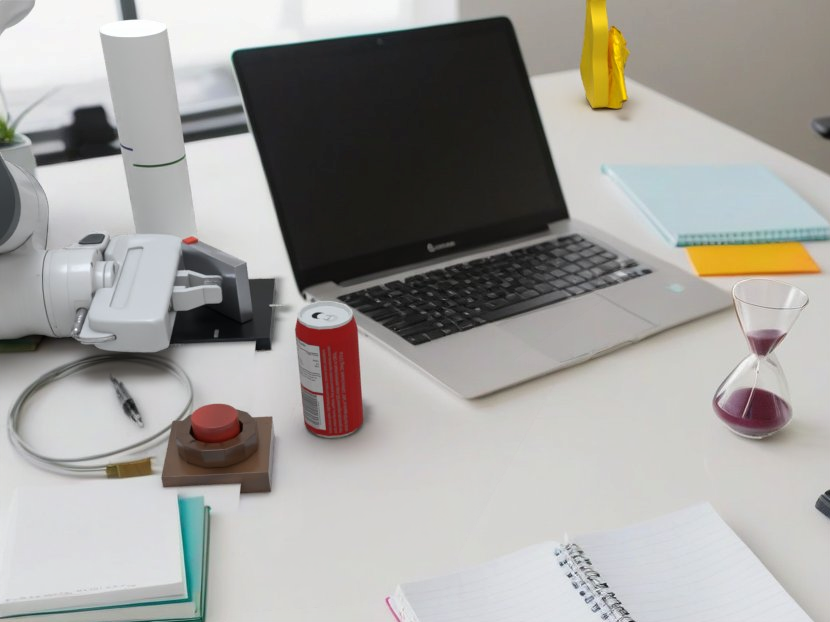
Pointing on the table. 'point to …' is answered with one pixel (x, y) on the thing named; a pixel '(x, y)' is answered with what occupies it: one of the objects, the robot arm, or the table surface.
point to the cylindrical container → (149, 126)
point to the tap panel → (230, 321)
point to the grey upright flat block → (226, 266)
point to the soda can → (329, 368)
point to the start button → (215, 423)
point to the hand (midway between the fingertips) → (222, 289)
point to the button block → (222, 456)
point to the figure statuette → (603, 59)
